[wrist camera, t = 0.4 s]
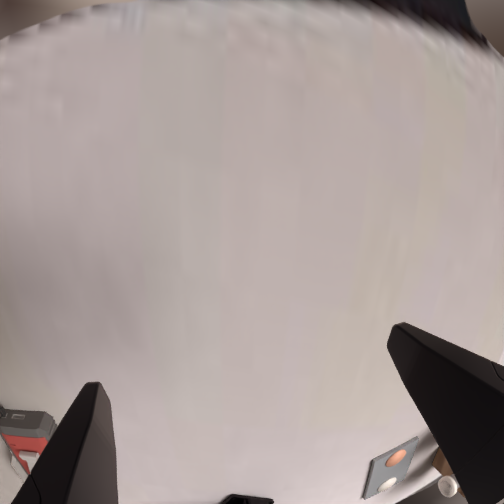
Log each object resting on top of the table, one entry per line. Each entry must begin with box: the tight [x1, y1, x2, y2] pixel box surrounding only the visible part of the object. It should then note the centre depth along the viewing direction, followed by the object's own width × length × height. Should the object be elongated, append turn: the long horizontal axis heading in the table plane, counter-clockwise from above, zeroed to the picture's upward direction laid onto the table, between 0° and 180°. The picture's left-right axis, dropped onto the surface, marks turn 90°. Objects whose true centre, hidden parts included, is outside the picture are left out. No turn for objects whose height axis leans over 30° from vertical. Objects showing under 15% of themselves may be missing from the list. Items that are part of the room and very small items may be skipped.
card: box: [363, 437, 419, 500], centre depth 37 cm, size 8×12×1 cm, turn 7°
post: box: [432, 447, 465, 497], centre depth 37 cm, size 4×6×11 cm, turn 7°
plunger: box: [438, 474, 460, 497], centre depth 34 cm, size 7×4×4 cm, turn 97°
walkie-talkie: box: [0, 406, 57, 483], centre depth 22 cm, size 9×4×20 cm
